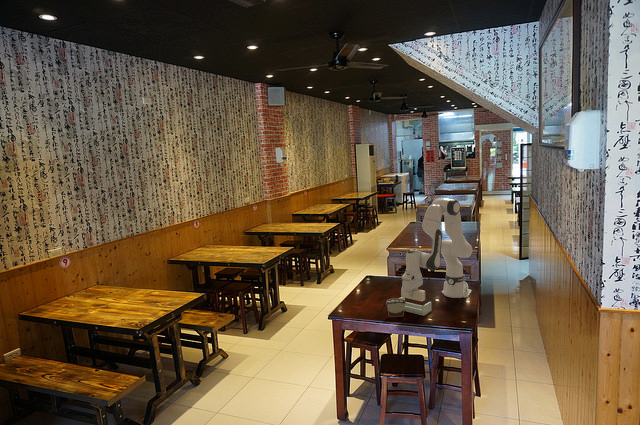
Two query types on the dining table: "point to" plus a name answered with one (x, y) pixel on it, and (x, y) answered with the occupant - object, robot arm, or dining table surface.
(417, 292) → the clay strip
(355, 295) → the dining table surface
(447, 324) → the dining table surface
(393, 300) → the food container
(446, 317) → the dining table surface
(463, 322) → the dining table surface
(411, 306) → the grey elongated piece
